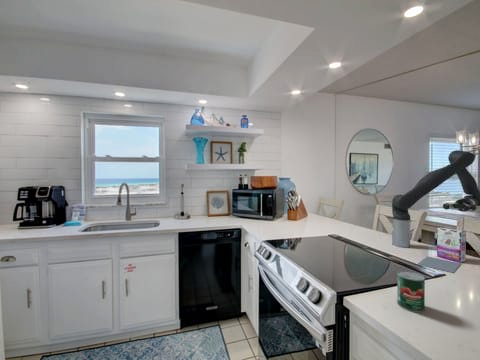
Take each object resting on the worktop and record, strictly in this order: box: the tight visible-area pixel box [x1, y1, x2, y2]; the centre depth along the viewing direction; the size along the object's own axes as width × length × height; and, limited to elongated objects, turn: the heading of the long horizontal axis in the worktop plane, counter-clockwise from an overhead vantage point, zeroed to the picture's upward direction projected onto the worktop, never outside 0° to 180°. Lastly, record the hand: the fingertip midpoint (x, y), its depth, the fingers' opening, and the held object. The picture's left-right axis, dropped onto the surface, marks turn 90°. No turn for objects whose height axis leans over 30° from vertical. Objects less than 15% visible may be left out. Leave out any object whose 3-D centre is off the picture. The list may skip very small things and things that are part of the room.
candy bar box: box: [436, 227, 467, 264], centre depth 130 cm, size 11×5×16 cm, turn 21°
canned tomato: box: [396, 270, 426, 313], centre depth 83 cm, size 8×8×11 cm
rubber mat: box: [417, 256, 462, 274], centre depth 123 cm, size 14×18×1 cm
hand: (455, 208), depth 136 cm, fingers open, 8 cm apart
